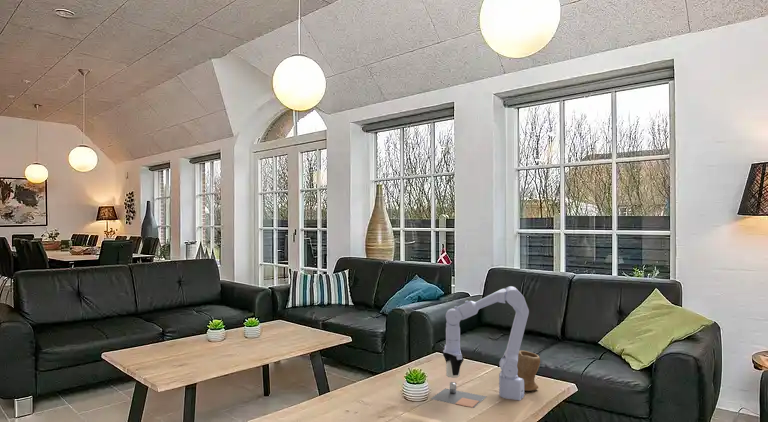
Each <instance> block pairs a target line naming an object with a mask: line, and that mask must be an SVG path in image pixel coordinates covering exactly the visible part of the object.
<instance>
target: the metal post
mask: <svg viewBox="0 0 768 422" xmlns="http://www.w3.org/2000/svg"><path fill="white" fill-rule="evenodd" d="M449 389H450V394H456V391H457V383H456V382H454V381H451V382H449Z"/></svg>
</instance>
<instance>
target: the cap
mask: <svg viewBox="0 0 768 422" xmlns="http://www.w3.org/2000/svg"><path fill="white" fill-rule="evenodd" d="M445 363H446V362H445ZM460 370H461V369H460ZM460 370H459V374H458V375H453V373H452V366H451V362H450V361H447V363H446V364H445V371H446V373H445V375H446V378H447V377H448V378H451V379H457V378H459V377H460V376H461V375H460V374H461V371H460Z"/></svg>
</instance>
